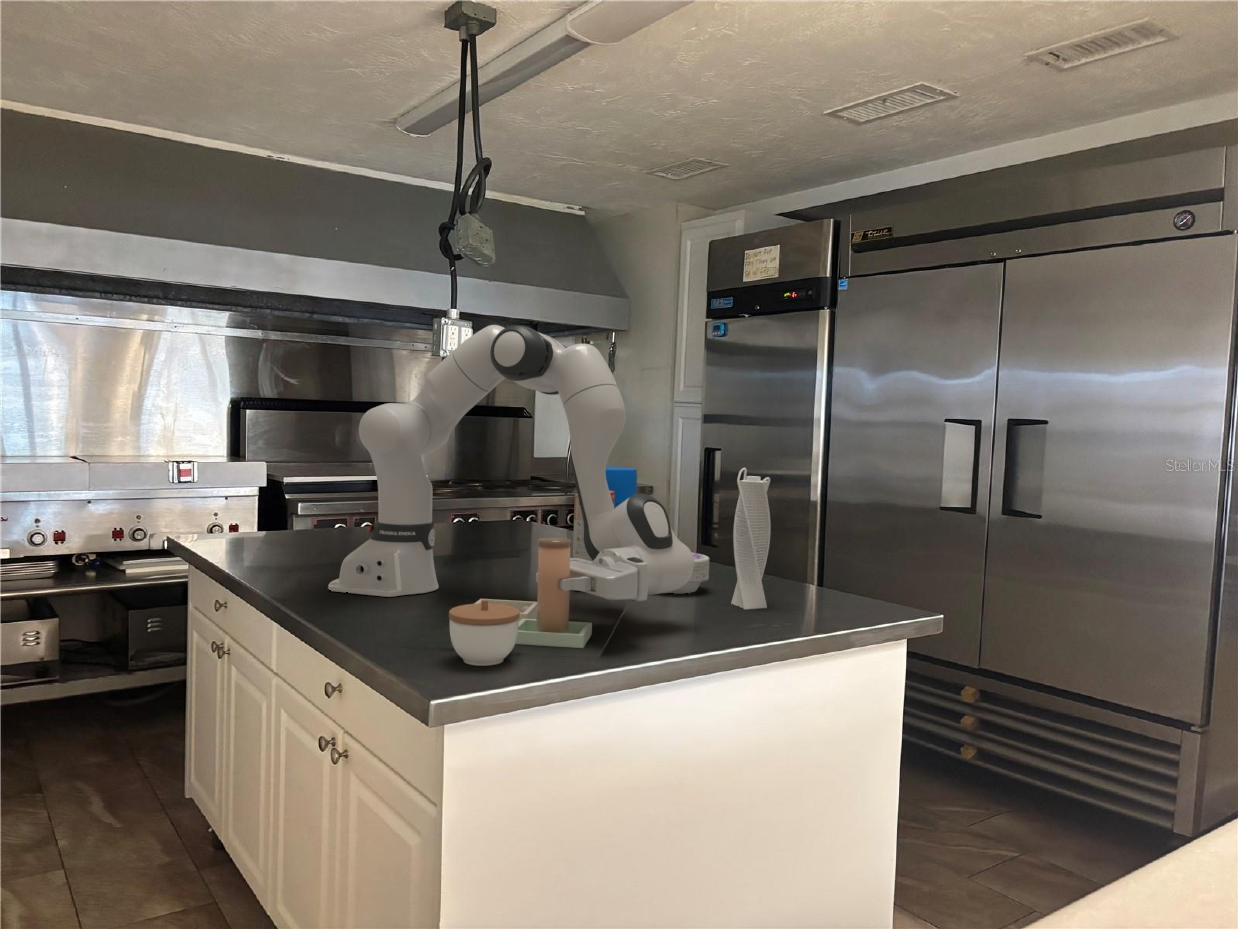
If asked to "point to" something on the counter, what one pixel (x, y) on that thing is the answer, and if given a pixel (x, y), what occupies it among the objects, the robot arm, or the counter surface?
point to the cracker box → (582, 530)
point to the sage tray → (554, 635)
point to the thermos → (621, 483)
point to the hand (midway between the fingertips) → (549, 581)
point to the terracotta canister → (553, 584)
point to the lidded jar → (483, 632)
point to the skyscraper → (751, 541)
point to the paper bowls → (695, 575)
